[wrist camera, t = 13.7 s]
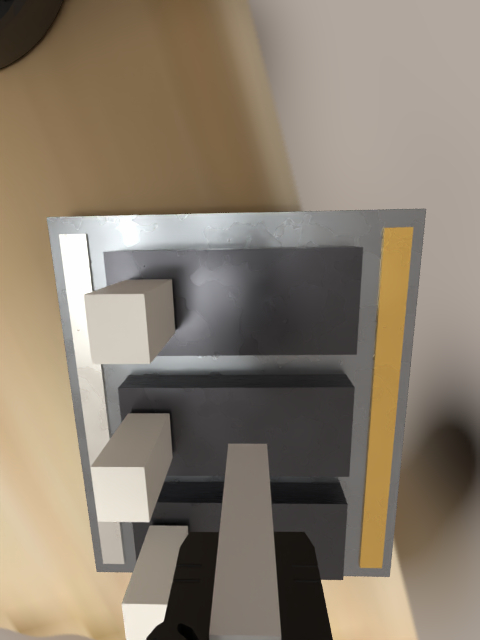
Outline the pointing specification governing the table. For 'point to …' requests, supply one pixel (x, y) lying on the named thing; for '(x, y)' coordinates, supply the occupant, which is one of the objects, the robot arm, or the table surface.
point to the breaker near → (130, 321)
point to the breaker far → (152, 581)
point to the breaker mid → (132, 468)
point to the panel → (256, 366)
